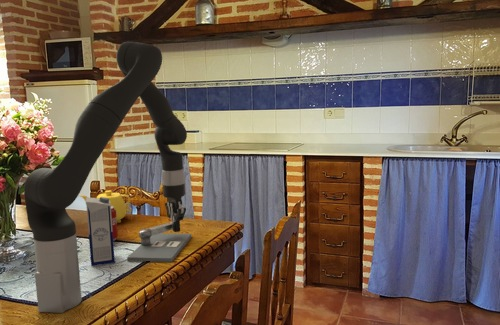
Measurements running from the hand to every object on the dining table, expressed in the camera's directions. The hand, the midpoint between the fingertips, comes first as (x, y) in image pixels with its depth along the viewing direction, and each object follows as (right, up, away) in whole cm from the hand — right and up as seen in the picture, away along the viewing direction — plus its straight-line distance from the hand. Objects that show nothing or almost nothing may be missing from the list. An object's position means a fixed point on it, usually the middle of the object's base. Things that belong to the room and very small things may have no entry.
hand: (176, 231), depth 145 cm
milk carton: (-20, -7, -16) cm, 26 cm away
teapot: (-34, -1, +29) cm, 45 cm away
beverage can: (-25, -4, +4) cm, 25 cm away
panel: (-4, -5, -6) cm, 8 cm away
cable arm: (-6, 0, -2) cm, 6 cm away
